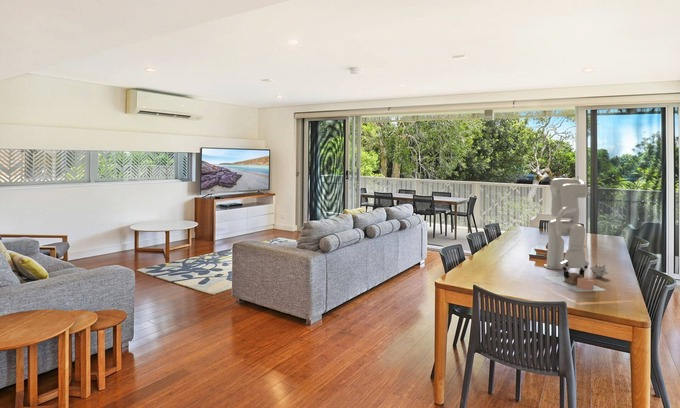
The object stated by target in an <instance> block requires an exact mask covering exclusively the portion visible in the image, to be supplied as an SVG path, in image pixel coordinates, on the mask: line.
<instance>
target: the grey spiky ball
mask: <svg viewBox="0 0 680 408" xmlns="http://www.w3.org/2000/svg"><path fill="white" fill-rule="evenodd" d="M589 269H590V270H591V272H592V277H599V278H600V279H602V277H604V276H605V275H608V274H609V272H607V270H606V264H603V265H601V264H599V263H596V264H595V265H594V266H592V267H590V268H589Z"/></svg>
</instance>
